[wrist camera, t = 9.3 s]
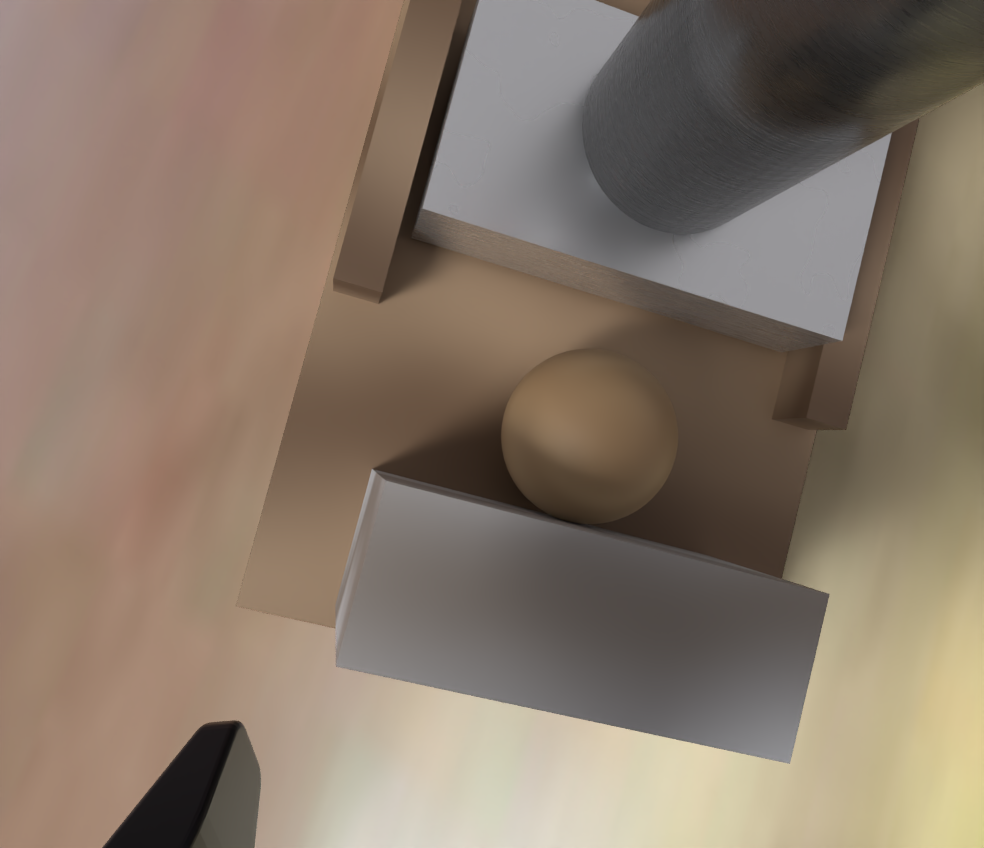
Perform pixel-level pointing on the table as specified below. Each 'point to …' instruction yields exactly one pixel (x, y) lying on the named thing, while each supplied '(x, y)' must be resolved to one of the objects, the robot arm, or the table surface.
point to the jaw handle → (690, 148)
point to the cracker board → (493, 333)
